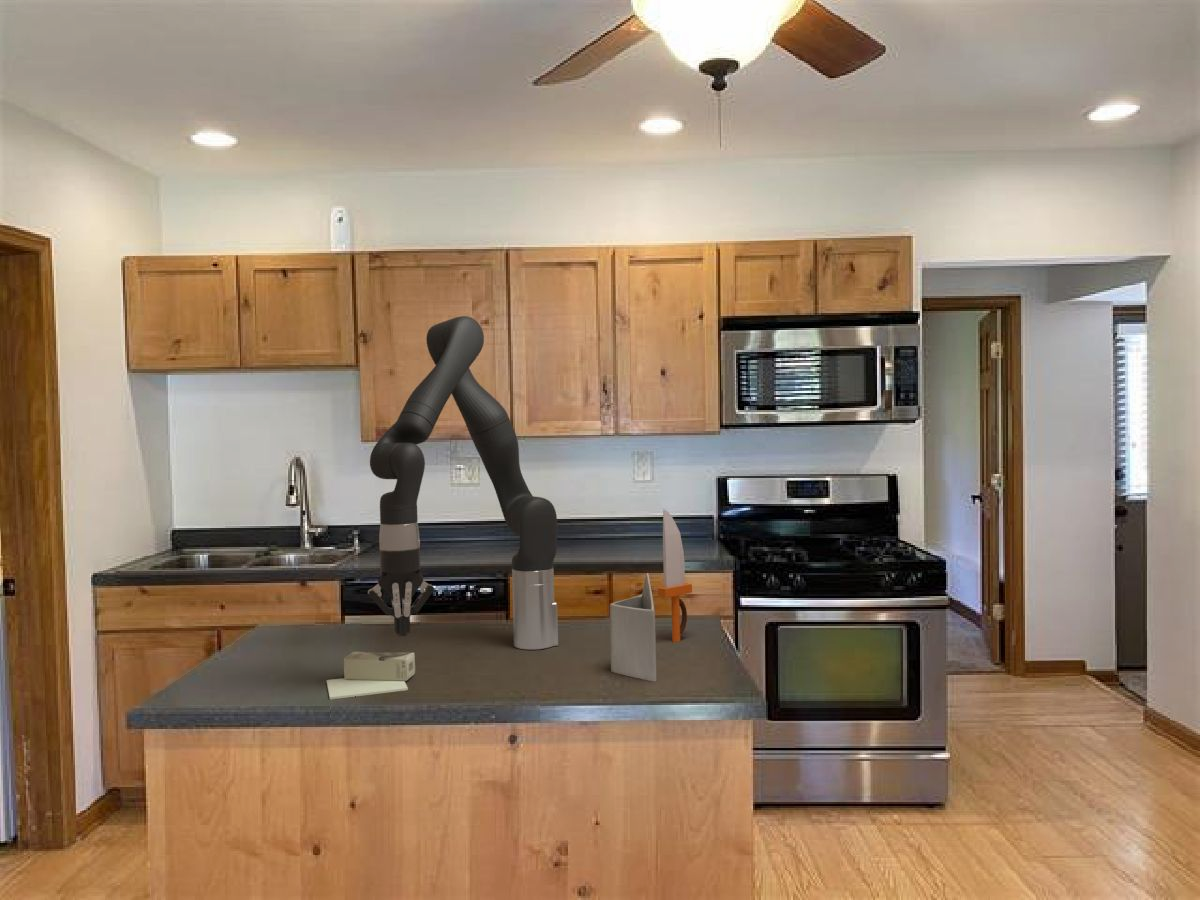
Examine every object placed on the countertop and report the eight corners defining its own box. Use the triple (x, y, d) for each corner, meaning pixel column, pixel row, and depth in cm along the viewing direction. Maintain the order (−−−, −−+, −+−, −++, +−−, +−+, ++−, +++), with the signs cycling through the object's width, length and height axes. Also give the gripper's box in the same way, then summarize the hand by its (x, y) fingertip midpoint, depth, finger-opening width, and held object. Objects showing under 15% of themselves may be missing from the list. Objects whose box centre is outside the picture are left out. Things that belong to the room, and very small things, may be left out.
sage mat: (399, 673, 178) (399, 671, 178) (407, 690, 167) (407, 688, 167) (326, 682, 174) (326, 680, 174) (329, 699, 162) (329, 697, 162)
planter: (607, 660, 185) (605, 567, 184) (645, 659, 185) (644, 566, 185) (614, 683, 168) (612, 581, 168) (656, 681, 169) (654, 580, 168)
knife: (666, 645, 196) (663, 509, 195) (658, 643, 198) (655, 508, 197) (693, 639, 201) (690, 506, 200) (685, 637, 203) (682, 505, 202)
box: (406, 659, 171) (342, 658, 173) (407, 681, 172) (343, 680, 173) (415, 651, 177) (353, 650, 178) (416, 673, 177) (353, 672, 178)
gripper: (431, 541, 178) (433, 628, 178) (362, 546, 173) (365, 634, 174) (437, 546, 171) (439, 636, 171) (366, 551, 166) (369, 643, 167)
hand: (402, 635), depth 172 cm, fingers closed
